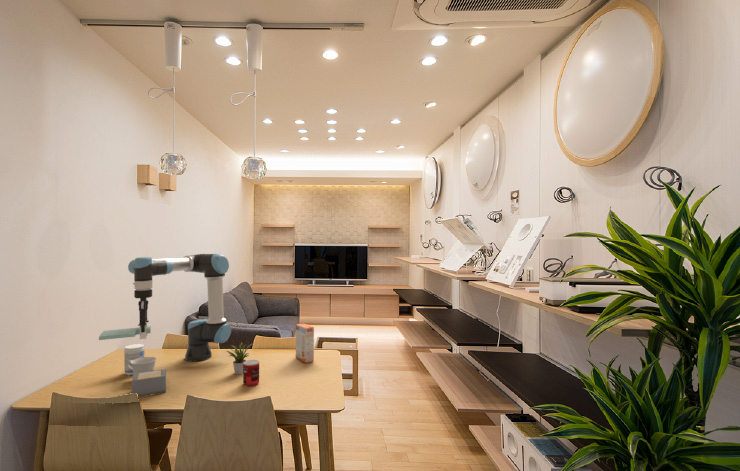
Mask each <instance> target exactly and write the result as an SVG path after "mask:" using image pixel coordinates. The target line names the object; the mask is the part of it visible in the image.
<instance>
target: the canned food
mask: <svg viewBox="0 0 740 471" xmlns="http://www.w3.org/2000/svg"><path fill="white" fill-rule="evenodd" d="M242 375H243V376H242V381H243V385H244V386H246V387H254V386H257V385H258V384H259V383H260V361H259V360H257V359H249V360H246V361H245V362H243V374H242Z"/></svg>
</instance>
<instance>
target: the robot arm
mask: <svg viewBox="0 0 740 471" xmlns="http://www.w3.org/2000/svg"><path fill="white" fill-rule="evenodd" d="M229 263H230V262H229V260H228V258H227V257H226V256H225V255H223V254H220V253H198V254H192V255H191V254H190V255H185V256H183V257H171V258H169V257H168V258H153V257H150V256H147V257H146V256H144V257H143V256H141V257H136V258H134V259H132V260H131V261H130V262H129V263H128V266H127V268H128V272H129V273H131V274H132V275H134V276H133V278H134V280H133V281H134V282H133V283H132V285H133V287H134V293H133V296H134V298H135V299H139V301H138V304H137V305H138V311H139V323H138V324H137V326H138V327H139V328H140V334H139V340H145V339H146V340H147V337H148V334H146V327H148V323H149V322H150V321H149V320H148V308H149V300H148V299H149V298H152V297H153V289H152V288H153V277H154V276H166V275H169V274H172V272H180V271H181V272H182V271H183V272H186V273H190V272H191V273H193V272H194V273H200V274H201V273H202V274H204V277H203V278H205V279H206V281H207V285H206V287H207V306H208V307H207V308H208V309H207V310H208V312H207V313H208V318H204V319H198V320H197V319H196V320H193V321H189V323H188V325H187V338H188V339H187V343H188V344H187V345H188V346H187V349H186V352H185V355H184V359H185V361H187V362H200V361H206V360H208V359H211V357H212V355H213V353H212V350H211V347H210V344H209V343H215V344H223V343H226V342H227V341H228V339H229V338H230V337H231V334H232V326H231V324H228V323H227V318H226V317H225V316H224V315H225V314H224V312H225V311H224V310H225V309H224V288H223V287H224V286H223V285H224V284H223V283H224V282H223V281H224V280H223V279H224V278H225V276H226V273H227V272H229V271H228V270H229V268H230V264H229Z"/></svg>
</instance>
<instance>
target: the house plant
mask: <svg viewBox="0 0 740 471" xmlns="http://www.w3.org/2000/svg"><path fill="white" fill-rule="evenodd" d="M252 345H253V343H251V344H249V345H247V344H245V345H243V342H241V343H239V346H238V347H239V348H238V347H237V346H236V345H234V344H233V345H231V344H230V346H231V347H232V348H233V349H234V350H233V349H232V348H230V347H228V349H230V350H231V351H232V352H231V351H229V350H226V352H227V353H228V354H229V357H233V358H234V360H233V361H232V365H233V370H234V375H243V362H245V361H247V360H246V359H245V358H248V357H250V353H248V352H247V351H248V350H249V349H250V346H252ZM245 346H247V347H246V348H245Z"/></svg>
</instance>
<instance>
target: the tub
mask: <svg viewBox="0 0 740 471" xmlns="http://www.w3.org/2000/svg"><path fill="white" fill-rule="evenodd" d="M166 392H167V369H166V368H163V369H156V370H155V369H154V371H148V372H140V373H134V375H132V379H131V394H132V393H137V394H138V396H139V397H138V398H141V397H147V396H152V395H151V394H154V395H158V394H159V393H160V394H165V393H166ZM160 394H159V395H160ZM146 395H147V396H146Z"/></svg>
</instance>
